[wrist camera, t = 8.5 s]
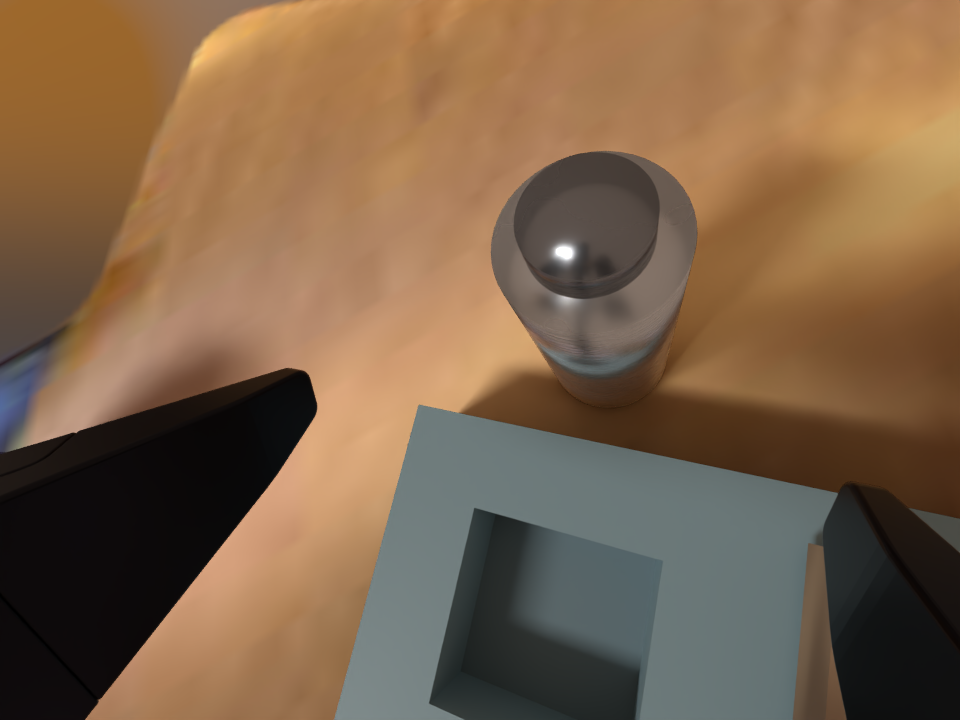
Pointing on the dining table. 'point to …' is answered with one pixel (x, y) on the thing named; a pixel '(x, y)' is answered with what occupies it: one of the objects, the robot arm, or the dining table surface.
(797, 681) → the lock bar
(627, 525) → the socket
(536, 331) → the grey cylindrical piece
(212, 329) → the dining table surface
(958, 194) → the dining table surface
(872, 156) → the dining table surface
